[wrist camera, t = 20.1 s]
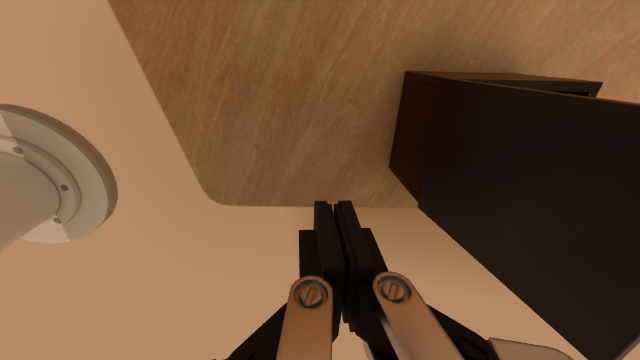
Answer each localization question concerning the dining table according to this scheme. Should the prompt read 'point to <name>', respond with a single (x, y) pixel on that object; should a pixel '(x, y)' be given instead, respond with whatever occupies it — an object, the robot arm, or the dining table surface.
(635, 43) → the dining table surface
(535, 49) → the dining table surface
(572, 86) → the box
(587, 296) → the lid
